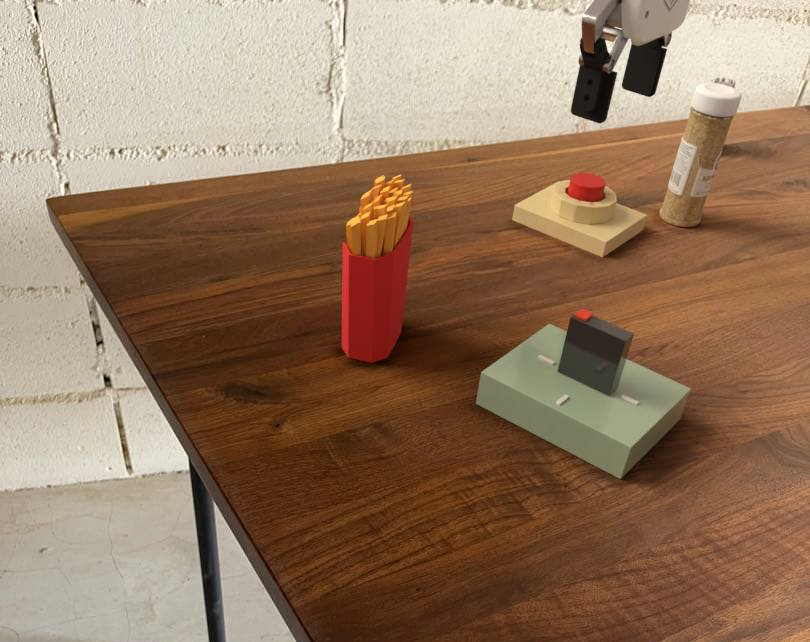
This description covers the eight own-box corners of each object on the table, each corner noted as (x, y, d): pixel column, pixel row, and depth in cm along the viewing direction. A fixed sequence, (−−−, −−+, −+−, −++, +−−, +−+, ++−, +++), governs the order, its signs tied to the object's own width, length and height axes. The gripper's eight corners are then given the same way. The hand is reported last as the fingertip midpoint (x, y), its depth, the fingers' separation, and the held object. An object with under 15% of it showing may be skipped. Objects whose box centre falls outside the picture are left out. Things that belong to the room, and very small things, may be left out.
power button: (608, 197, 92) (612, 180, 91) (591, 207, 90) (595, 190, 89) (578, 186, 93) (582, 169, 92) (560, 195, 91) (564, 179, 90)
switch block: (643, 230, 94) (652, 198, 92) (602, 257, 89) (610, 224, 87) (555, 195, 99) (562, 164, 96) (511, 220, 93) (517, 187, 91)
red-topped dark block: (617, 388, 67) (635, 330, 64) (609, 396, 66) (626, 338, 63) (565, 363, 69) (580, 306, 66) (556, 371, 68) (570, 313, 65)
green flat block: (679, 419, 70) (692, 386, 68) (620, 479, 64) (631, 445, 62) (542, 354, 75) (549, 321, 73) (475, 403, 70) (481, 370, 67)
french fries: (363, 309, 78) (371, 161, 69) (409, 319, 78) (424, 171, 68) (329, 364, 72) (333, 208, 63) (380, 375, 71) (391, 220, 62)
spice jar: (701, 231, 95) (745, 99, 86) (658, 225, 95) (698, 93, 86) (697, 213, 98) (740, 84, 89) (656, 207, 99) (694, 78, 89)
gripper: (668, -116, 60) (606, 143, 72) (758, -134, 70) (691, 94, 82) (571, -136, 63) (527, 116, 75) (672, -151, 73) (619, 72, 85)
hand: (613, 104), depth 78 cm, fingers open, 9 cm apart
